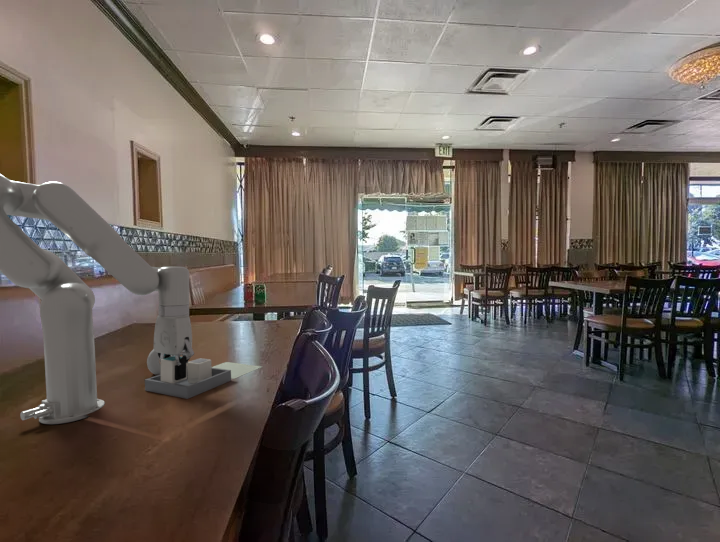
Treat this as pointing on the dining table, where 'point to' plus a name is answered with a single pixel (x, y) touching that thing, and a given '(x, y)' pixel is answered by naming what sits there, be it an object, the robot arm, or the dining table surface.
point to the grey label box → (199, 370)
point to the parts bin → (187, 384)
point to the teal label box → (169, 370)
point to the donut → (154, 362)
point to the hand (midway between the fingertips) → (173, 376)
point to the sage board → (237, 368)
